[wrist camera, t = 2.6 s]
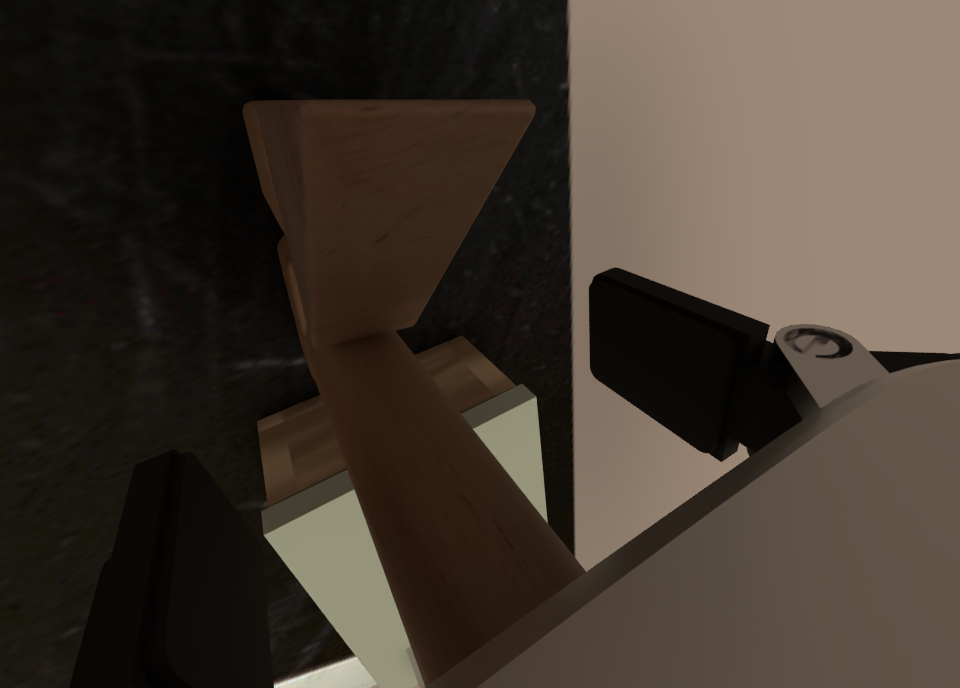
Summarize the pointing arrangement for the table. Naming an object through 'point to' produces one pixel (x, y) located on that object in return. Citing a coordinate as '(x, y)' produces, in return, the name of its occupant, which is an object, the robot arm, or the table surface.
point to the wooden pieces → (404, 349)
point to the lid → (352, 554)
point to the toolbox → (311, 440)
